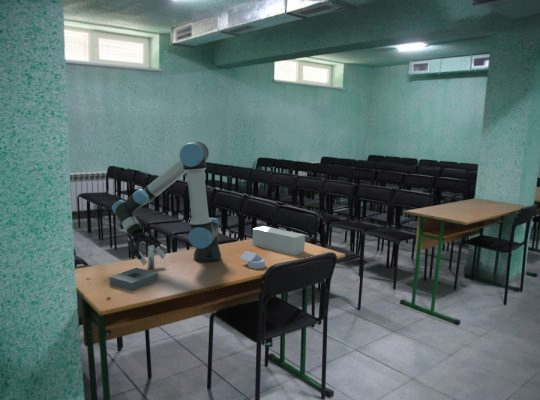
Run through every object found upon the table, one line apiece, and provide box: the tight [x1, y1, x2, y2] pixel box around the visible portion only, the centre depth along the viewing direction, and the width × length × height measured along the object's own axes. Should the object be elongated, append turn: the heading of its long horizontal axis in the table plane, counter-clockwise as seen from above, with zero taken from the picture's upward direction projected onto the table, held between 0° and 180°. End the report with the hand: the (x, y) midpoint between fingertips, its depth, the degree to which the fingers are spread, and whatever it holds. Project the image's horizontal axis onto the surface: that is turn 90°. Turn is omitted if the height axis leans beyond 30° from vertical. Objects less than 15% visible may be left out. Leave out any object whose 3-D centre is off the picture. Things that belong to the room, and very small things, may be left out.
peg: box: [147, 244, 155, 270], centre depth 221 cm, size 3×3×12 cm
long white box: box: [251, 225, 306, 256], centre depth 266 cm, size 32×11×11 cm, turn 52°
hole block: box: [109, 267, 159, 291], centre depth 201 cm, size 16×14×4 cm
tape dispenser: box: [239, 250, 266, 270], centre depth 232 cm, size 9×7×13 cm
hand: (154, 260), depth 220 cm, fingers open, 12 cm apart
